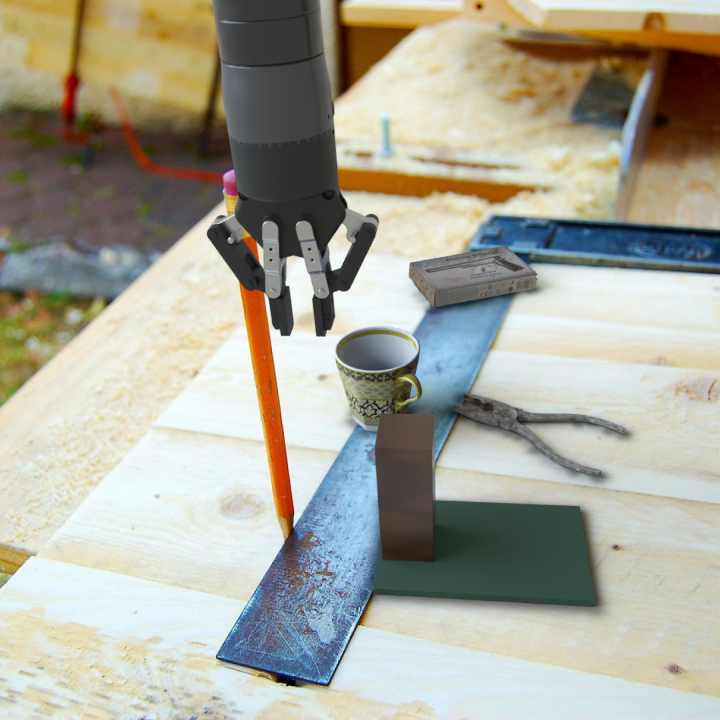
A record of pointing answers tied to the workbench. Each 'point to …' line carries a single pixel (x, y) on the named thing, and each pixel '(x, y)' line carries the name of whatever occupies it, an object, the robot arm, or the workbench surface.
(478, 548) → the rubber mat
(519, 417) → the pliers
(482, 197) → the workbench surface
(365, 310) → the workbench surface
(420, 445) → the walnut block
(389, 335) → the ceramic cup
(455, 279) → the box
